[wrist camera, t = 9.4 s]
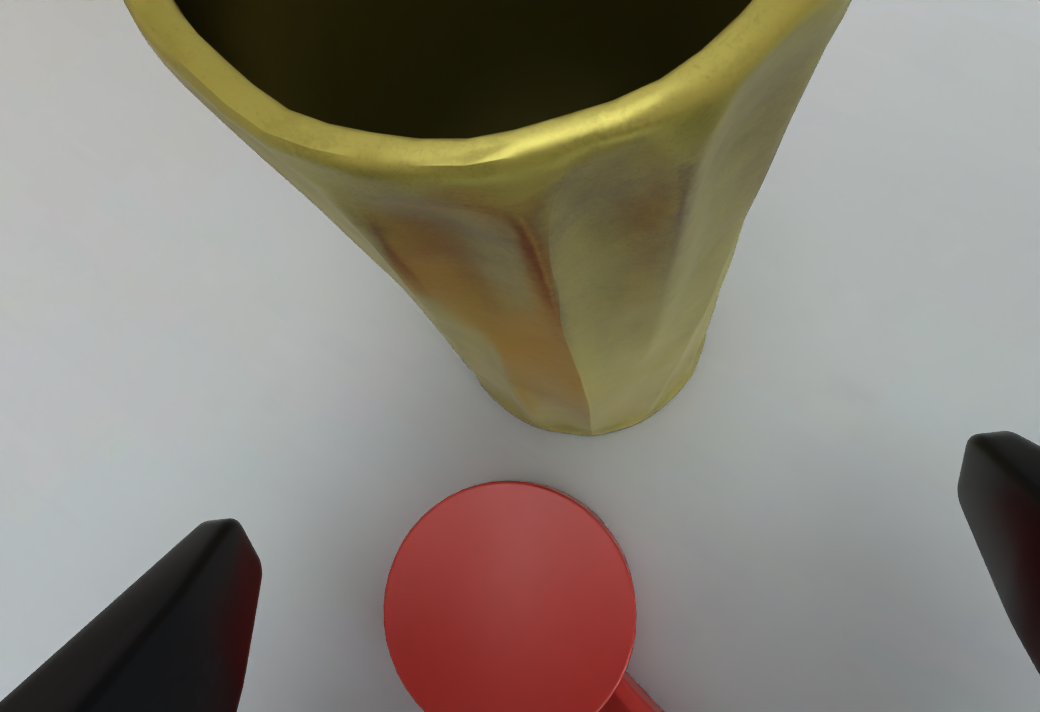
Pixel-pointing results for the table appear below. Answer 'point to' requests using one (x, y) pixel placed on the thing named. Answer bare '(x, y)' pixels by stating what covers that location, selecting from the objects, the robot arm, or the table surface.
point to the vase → (522, 164)
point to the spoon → (513, 606)
